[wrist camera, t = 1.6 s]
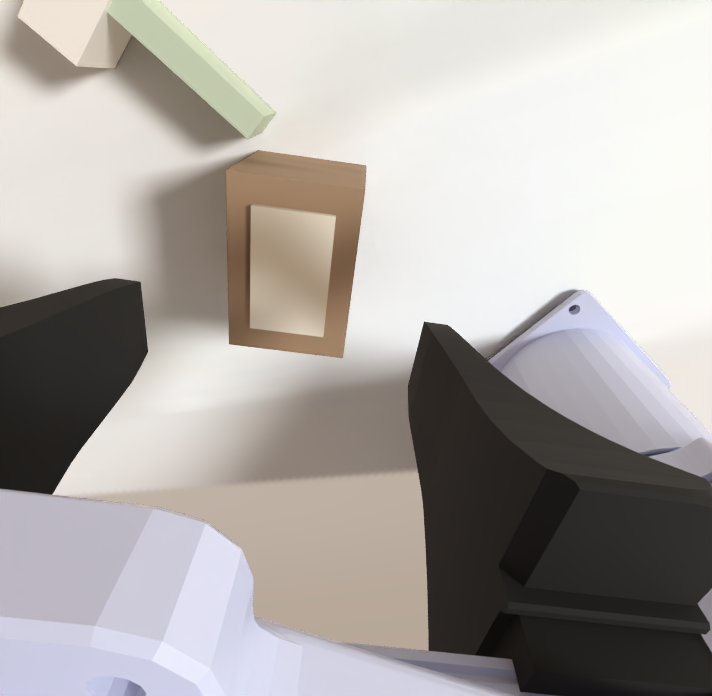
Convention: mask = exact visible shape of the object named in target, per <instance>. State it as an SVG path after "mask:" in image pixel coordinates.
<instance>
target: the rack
mask: <svg viewBox="0 0 712 696" xmlns="http://www.w3.org/2000/svg"><path fill="white" fill-rule="evenodd" d="M17 17H18V18H20V19H21V20H22V21H23V22H24V23H26V24H27V25H28V26H29V27H30V28H31V29H33V30H34V31H35V32H36V33H37V34H39V35H40V36H41V37H42V38H43V39H45V40H46V41H47V42H48V43H49V44H50V45H52V46H53V47H54V48H55V49H56V50H58V51H59V52H60V53H61V54H62V55H64V56H65V57H66V58H67V59H68V60H69V61H71V62H72V63H73V64H74V65H75V66H78V67H97V68H115V67H116V65H117V63H118V61H119V59H120V57H121V55H122V53H123V52H124V50H125V48H126V46H127V44H128V42H129V40H130V38H131V37H132V35H133V36H134V37H135V38H136V39H137V40H138V41H140V42H141V43H142V44H143V45H144V46H145V47H146V48H147V49H148V50H150V51H151V52H152V53H153V54H154V55H155V56H156V57H157V58H158V59H159V60H161V61H162V62H163V63H164V64H165V65H166V66H167V67H168V68H169V69H171V70H172V71H173V72H174V73H175V74H176V75H177V76H178V77H179V78H180V79H182V80H183V81H184V82H185V83H186V84H187V85H188V86H189V87H190V88H192V89H193V90H194V91H195V92H196V93H197V94H198V95H199V96H200V97H201V98H203V99H204V100H205V101H206V102H207V103H208V104H209V105H210V106H211V107H213V108H214V109H215V110H216V111H217V112H218V113H219V114H220V115H221V116H222V117H224V118H225V119H226V120H227V121H228V122H229V123H230V124H231V125H232V126H234V127H235V128H236V129H237V130H238V131H239V132H240V133H241V134H242V135H243V136H245V137H246V138H247V139H250V138H252V137H254V136H256V135H258V134H260V133H262V132H263V130H264V129H265V127H266V126H267V125H268V123H269V122H270V121H271V119H272V118H273V116H274V115H275V114H276V111H275V110H273V109H272V108H271V107H270V106H269V105H268V104H267V103H266V102H265V101H264V100H263V99H262V98H261V97H260V96H259V95H258V94H257V93H256V92H255V91H254V90H253V89H251V88H250V87H249V86H248V85H247V84H246V83H245V82H244V81H243V80H242V79H241V78H240V77H239V76H238V75H237V74H236V73H235V72H234V71H233V70H232V69H230V68H229V67H228V66H227V65H226V64H225V63H224V62H223V61H222V60H221V59H220V58H219V57H218V56H217V55H216V54H215V53H214V52H213V51H212V50H211V49H209V48H208V47H207V46H206V45H205V44H204V43H203V42H202V41H201V40H200V39H199V38H198V37H197V36H196V35H195V34H194V33H193V32H192V31H191V30H190V29H189V28H187V27H186V26H185V25H184V24H183V23H182V22H181V21H180V20H179V19H178V18H177V17H176V16H175V15H174V14H173V13H172V12H171V11H170V10H169V9H168V8H166V7H165V6H164V5H163V4H162V3H161V2H160V1H159V0H24V1H23V4H22V6H21V9H20V11H19V14H18V16H17Z"/></svg>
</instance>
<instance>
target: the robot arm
mask: <svg viewBox="0 0 712 696" xmlns="http://www.w3.org/2000/svg"><path fill="white" fill-rule="evenodd" d="M573 305H577V307H576V309H575V310H573V311H569V308H570V307H571V306H573ZM147 353H148V347H147V337H146V328H145V319H144V310H143V301H142V292H141V283H140V282H138V281H131V280H123V279H116V278H115V279H107V280H102V281H97V282H93V283H89V284H86V285H82V286H78V287H75V288H71V289H68V290H64V291H61V292H57V293H53V294H50V295H46V296H43V297H39V298H36V299H32V300H28V301H24V302H21V303H17V304H13V305H9V306H5V307H1V308H0V696H712V433H711V432H710V431H709V430H708V429H707V428H706V427H705V426H704V425H703V424H702V423H701V422H700V421H699V420H698V419H697V418H696V417H695V416H694V415H693V413H692V412H691V411H690V410H689V409H688V408H687V407H686V406H685V405H684V404H683V403H682V402H681V401H680V400H679V399H678V398H677V397H676V396H675V395H674V394H673V393H672V392H671V391H670V390H669V388H670V386H671V382H670V380H669V379H668V378H667V377H666V376H665V374H664V373H663V372H662V371H661V370H660V369H659V368H658V367H657V366H656V364H655V363H654V362H653V361H652V360H651V359H650V358H649V357H648V356H647V355H646V353H645V352H644V351H643V350H642V349H641V348H640V347H639V346H638V345H637V343H636V342H635V341H634V340H633V339H632V338H631V337H630V336H629V335H628V334H627V332H626V331H625V330H624V329H623V328H622V327H621V326H620V325H619V324H618V322H617V321H616V320H615V319H614V318H613V317H612V316H611V315H610V314H609V313H608V311H607V310H606V309H605V308H604V307H603V306H602V305H601V304H600V303H599V301H598V300H597V299H596V298H595V297H594V296H593V295H592V294H591V293H590V292H588V291H587V290H580V291H577V292H576V293H574V294H573V295H571V296H570V297H569V298H568V299H566V300H565V301H564V302H563V303H561V304H560V305H559V306H557V307H556V308H555V309H554V310H552V311H551V312H550V313H548V314H547V315H546V316H545V317H543V318H542V319H541V320H539V321H538V322H537V323H536V324H534V325H533V326H532V327H531V328H529V329H528V330H527V331H525V332H524V333H523V334H522V335H520V336H519V337H518V338H516V339H515V340H514V341H513V342H511V343H510V344H509V345H508V346H506V347H505V348H504V349H502V350H501V351H500V352H499V353H497V354H496V355H495V356H493V357H492V358H491V359H490V360H488V361H487V360H486V359H485V358H484V357H483V356H482V355H481V354H479V353H478V352H477V351H476V350H475V349H474V348H473V347H472V346H471V345H470V344H469V343H468V342H467V341H465V340H464V339H463V338H462V337H461V336H460V335H459V334H458V333H457V332H456V331H455V330H453V329H452V328H451V327H449V326H448V325H443V324H436V323H429V322H424V324H423V328H422V332H421V336H420V340H419V344H418V348H417V352H416V356H415V360H414V364H413V368H412V372H411V376H410V380H409V384H408V408H409V421H410V428H411V433H412V439H413V445H414V451H415V456H416V462H417V468H418V473H419V479H420V485H421V491H422V499H423V509H424V525H425V541H426V564H427V590H428V629H429V651H425V650H415V649H405V648H395V647H385V646H376V645H366V644H356V643H345V642H338V641H334V640H331V639H328V638H324V637H321V636H318V635H315V634H312V633H308V632H305V631H302V630H298V629H295V628H292V627H288V626H285V625H282V624H278V623H275V622H272V621H269V620H266V619H262V618H259V617H256V616H254V615H253V609H252V606H253V585H254V579H253V576H252V574H251V571H250V569H249V566H248V564H247V561H246V559H245V556H244V553H243V551H242V549H241V548H240V547H239V546H238V545H237V544H236V543H235V542H233V541H232V540H231V539H229V538H228V537H227V536H225V535H224V534H223V533H221V532H220V531H219V530H217V529H216V528H215V527H213V526H212V525H210V524H209V523H208V522H206V521H205V520H203V519H199V518H196V517H192V516H189V515H185V514H182V513H178V512H175V511H171V510H168V509H164V508H161V507H155V506H146V505H137V504H129V503H120V502H112V501H103V500H94V499H86V498H77V497H68V496H59V495H52V494H53V492H54V491H55V489H56V487H57V486H58V484H59V482H60V481H61V479H62V477H63V476H64V474H65V472H66V471H67V469H68V467H69V466H70V464H71V462H72V461H73V460H74V458H75V457H76V455H77V454H78V452H79V451H80V450H81V448H82V447H83V445H84V444H85V443H86V442H87V440H88V439H89V438H90V436H91V435H92V434H93V433H94V431H95V430H96V429H97V427H98V426H99V425H100V423H101V422H102V421H103V420H104V418H105V417H106V416H107V414H108V413H109V412H110V411H111V409H112V408H113V407H114V405H115V404H116V403H117V401H118V400H119V399H120V397H121V396H122V395H123V393H124V392H125V391H126V389H127V388H128V387H129V385H130V384H131V383H132V381H133V379H134V377H135V376H136V374H137V372H138V370H139V369H140V367H141V365H142V363H143V361H144V359H145V357H146V355H147Z"/></svg>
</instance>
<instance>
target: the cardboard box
mask: <svg viewBox="0 0 712 696" xmlns="http://www.w3.org/2000/svg"><path fill="white" fill-rule="evenodd" d="M365 182H366V165H359V164H351V163H344V162H337V161H330V160H323V159H316V158H309V157H302V156H295V155H288V154H281V153H273V152H266V151H259V150H258V151H257V152H255V153H253V154H252V155H250V156H248V157H247V158H245V159H244V160H242V161H240V162H239V163H237V164H235V165H234V166H232V167H230V168H229V169H227V170H226V202H227V255H228V308H229V344H232V345H240V346H248V347H256V348H265V349H273V350H281V351H289V352H297V353H305V354H313V355H322V356H330V357H338V358H343V352H344V345H345V337H346V330H347V322H348V315H349V307H350V300H351V292H352V285H353V277H354V270H355V262H356V255H357V247H358V240H359V232H360V225H361V217H362V209H363V202H364V194H365Z"/></svg>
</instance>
